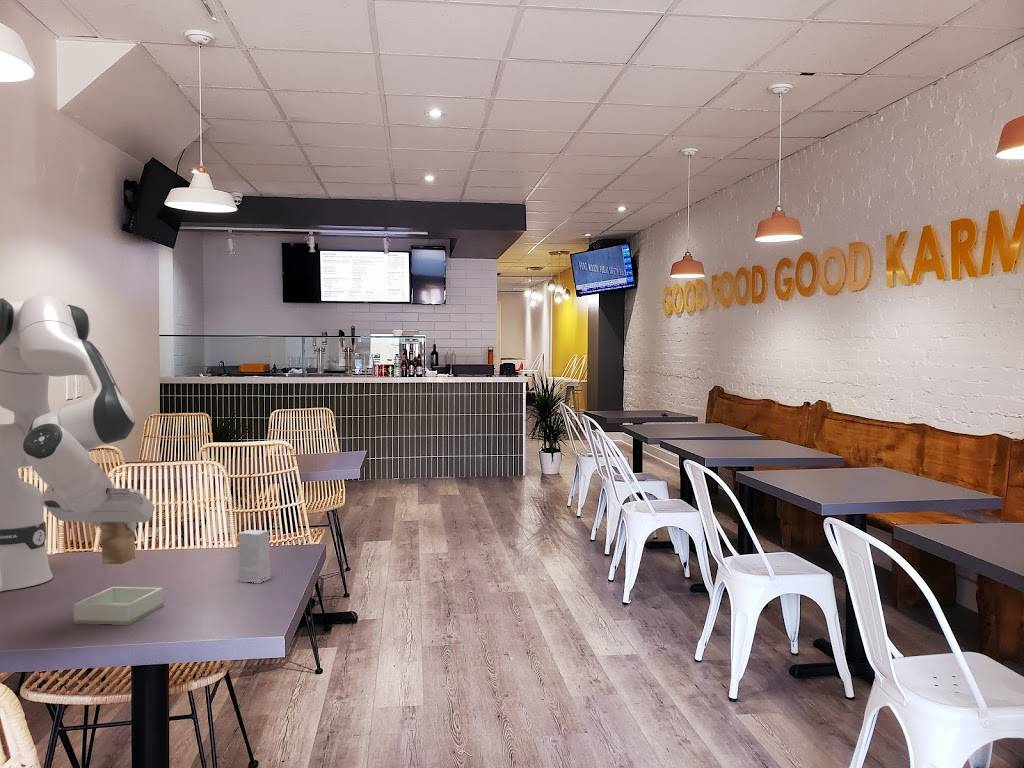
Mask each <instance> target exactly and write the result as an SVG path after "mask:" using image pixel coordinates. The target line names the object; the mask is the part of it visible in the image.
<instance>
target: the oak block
mask: <svg viewBox="0 0 1024 768" xmlns="http://www.w3.org/2000/svg"><path fill="white" fill-rule="evenodd" d="M125 524H126V523H124V522H101V529H100V531H101V536H100V537H101V539H100V540H101V564H103V565H123V564H126V563H127V562H128V563H129V562H130V561H133V560H136V537H135V536H136V535H135V530H134V531H127V530H126V529H125V528H124V525H125Z"/></svg>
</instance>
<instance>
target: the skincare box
mask: <svg viewBox="0 0 1024 768" xmlns="http://www.w3.org/2000/svg"><path fill="white" fill-rule="evenodd" d="M269 532H270V531H269V530H263V529H262V530H260V529H247V530H244V531H240V532H238V533H237V535H238V536H237V537H238V538H237V539H238V569H239V570H238V571H239V572H238V573H239V574H238V575H239V578H238V579H239V582H240V583H247V582H252V583H251V584H261V582H262V583H264V582H266V581H269V580H270V579H271V562H270V558H271V557H270V536H269V535H270V534H269ZM268 579H269V580H268ZM263 581H264V582H263ZM253 582H254V583H253Z"/></svg>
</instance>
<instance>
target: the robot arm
mask: <svg viewBox="0 0 1024 768" xmlns="http://www.w3.org/2000/svg"><path fill="white" fill-rule="evenodd" d="M90 331H91V324H90V320H89V315H88V313H87V312H86V311H85V309H83V308H81V307H79V306H76V305H73V304H67V305H66V303H65V302H64V301H63V300H62V299H60V298H58V297H56V296H54V295H49V294H38V295H34V296H31V297H29V298H28V299H5V298H4V297H3V298H0V407H1V408H3V409H6V410H7V411H10V412H13V417H14V418H13V419H14V420H13V423H5V424H4V423H3V424H1V423H0V592H5V591H10V590H19V589H23V588H29V587H33V586H36V585H41V584H43V583H46V582H48V581H50V580H52V579H53V578H54V575H53V573H52V569H51V567H50V566H51V565H50V562H49V557H48V553H47V548H46V538H47V526H46V521H45V520H44V507H45V508H46V509H47V510H48V512H49V513H50V514H51V515H52V516H54V518H56V519H57V520H59V521H62V522H66V523H68V522H69V523H70V522H71V523H72V522H74V523H77V522H80V523H82V522H83V523H84V522H85V523H89V524H90V525H93V526H95V527H96V528H97V527H98V528H99V529H100V530H101V522H124V523H126V524H125V525H124V528H125V529H126V530H127V531H134V532H135V531H136V529H137V526H138V523H147V522H149V521H150V519H151V518H152V516H153V514H154V512H155V508H156V506H155V505H154V504H153V502H151V500H150V499H149V498H148V497H147V496H146V495H145V494H143V493H142V492H141V491H139V490H137V489H134V488H131V487H130V488H129V487H128V488H125V487H124V488H123V487H122V488H118V487H116V488H113V487H114V485H113V481H112V480H111V479H110V478H109V476H108V475H107V473H106V472H105V471H104V470H103V469H102V468H101V467H100V465H99V464H98V463H96V462H95V461H93V460H92V458H91V456H90V454H89V452H88V451H91V450H94V449H97V448H99V447H102V446H104V445H108V444H113V443H116V442H119V441H124V440H126V439H127V438H128V436H129V435H130V434H131V432H132V430H134V429H133V428H134V427H135V425H136V420H135V415H134V412H133V409H132V408H131V406H130V404H129V403H128V401H126V399H125V398H124V396H123V394H122V392H121V390H120V388H119V386H118V385H117V382H116V380H115V379H114V377H113V375H112V374H113V373H112V372H111V371H110V369H109V366H108V365H107V363H106V361H105V359H104V357H103V356H102V353H101V352H100V350H98V348H97V347H96V346H95V345H94V344H93V343H92V341H90V340H88V337H89V334H90ZM67 376H68V377H69V376H87V378H88V381H89V382H90V385H91V387H92V389H93V391H94V393H93V394H92V395H91V396H90V397H88V398H86V399H84V400H81V401H79V402H75V403H73V404H70V405H68V406H65V407H61V408H58V409H54V410H52V411H51V409H50V405H49V380H50V377H67ZM29 467H31V468H32V469H33V470H34V472H35V474H37V475H38V476H39V478H40V479H41V480H42V481H43V482H44V483H45V484H46V485H48V486H47V487H46V488H45V491H44V492H42V490H41V489H40V488H39V487H37V486H36V485H34V484H32V483H29V482H26V481H23V480H22V479H21V477H20V474H19V469H21V468H29Z"/></svg>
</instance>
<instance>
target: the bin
mask: <svg viewBox="0 0 1024 768" xmlns="http://www.w3.org/2000/svg"><path fill="white" fill-rule="evenodd" d="M164 598H165V597H164V587H143V586H140V587H139V586H135V587H134V586H110V587H109V588H107V589H104V590H102V591H100V592H97V593H94V594H93V595H91V596H88V597H86V598H84V599H82V600H80V601H78V602H75V603H73V624H76V625H99V624H112V625H111V626H130V625H132V624H134V623H136V622H138V621H140V620H141V619H143V618H145V617H147V616H148V615H150V614H152V613H154V612H156V611H157V610H159V609H161V608H163V607H165V605H164V604H165V603H164V602H165V601H164Z"/></svg>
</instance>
